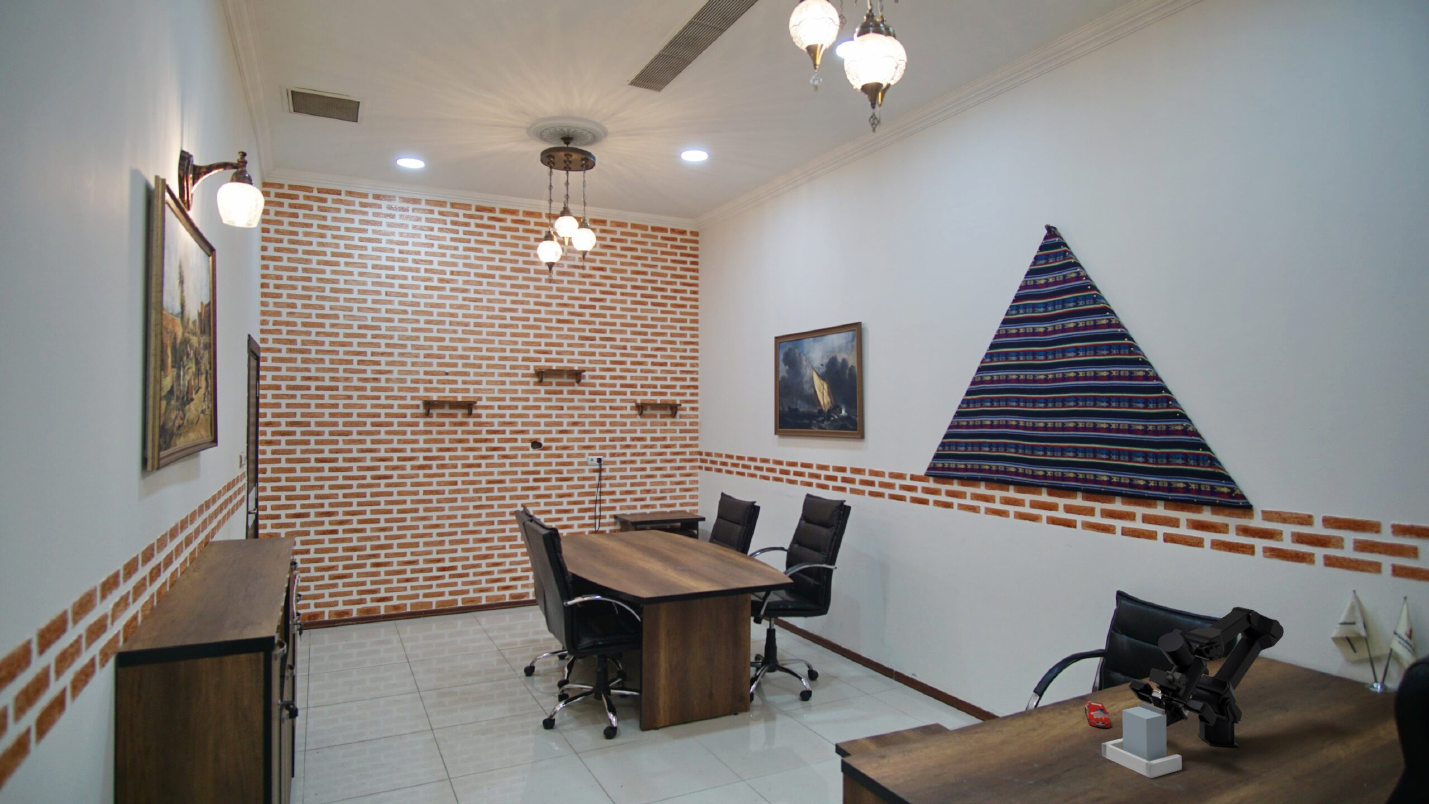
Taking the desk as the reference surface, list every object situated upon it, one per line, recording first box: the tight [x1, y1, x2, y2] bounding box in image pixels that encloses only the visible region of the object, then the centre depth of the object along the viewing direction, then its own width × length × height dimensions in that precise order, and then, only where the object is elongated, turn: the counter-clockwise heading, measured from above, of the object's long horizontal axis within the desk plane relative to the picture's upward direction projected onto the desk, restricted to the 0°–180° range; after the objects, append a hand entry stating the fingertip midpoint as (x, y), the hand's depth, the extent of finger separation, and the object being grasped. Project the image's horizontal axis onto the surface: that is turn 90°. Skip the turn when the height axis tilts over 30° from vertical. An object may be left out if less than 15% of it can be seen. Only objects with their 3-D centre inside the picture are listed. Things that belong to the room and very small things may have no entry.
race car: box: [1084, 700, 1111, 728], centre depth 203 cm, size 13×5×4 cm, turn 158°
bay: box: [1101, 737, 1183, 779], centre depth 177 cm, size 11×12×3 cm
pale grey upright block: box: [1122, 701, 1168, 761], centre depth 178 cm, size 7×6×12 cm
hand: (1154, 730), depth 180 cm, fingers closed, pressing on pale grey upright block
